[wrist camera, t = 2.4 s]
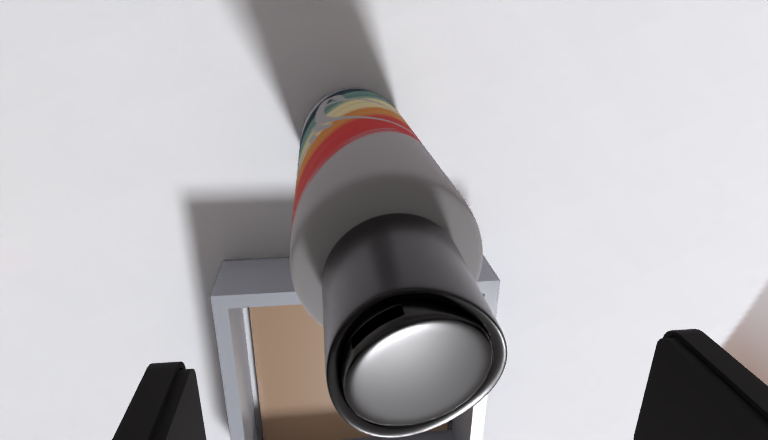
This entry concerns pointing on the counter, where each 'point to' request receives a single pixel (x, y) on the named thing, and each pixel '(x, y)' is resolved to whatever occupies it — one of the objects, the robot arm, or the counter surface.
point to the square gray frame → (295, 359)
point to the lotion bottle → (389, 271)
